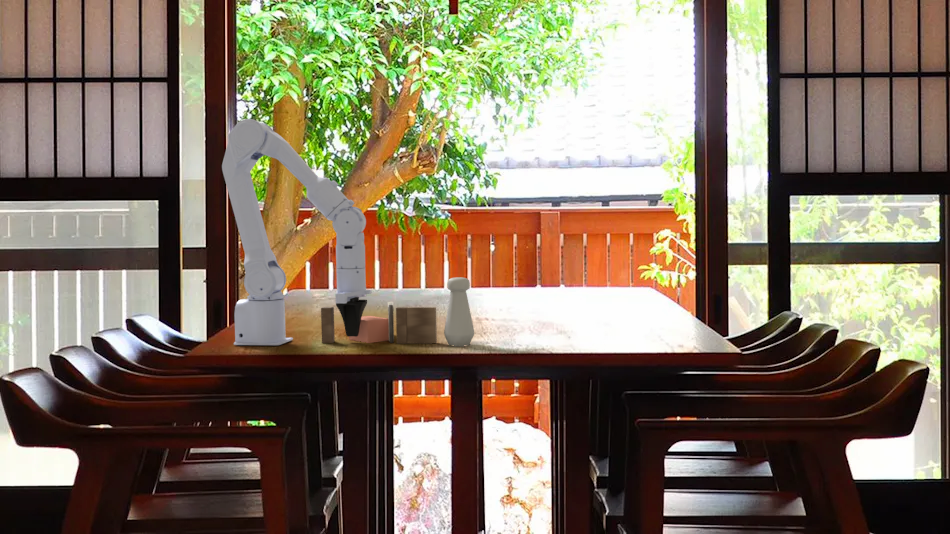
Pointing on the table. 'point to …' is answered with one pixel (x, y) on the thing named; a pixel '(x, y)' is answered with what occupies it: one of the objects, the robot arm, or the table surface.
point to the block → (372, 330)
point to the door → (393, 316)
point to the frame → (409, 325)
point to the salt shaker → (458, 314)
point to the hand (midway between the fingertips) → (352, 336)
